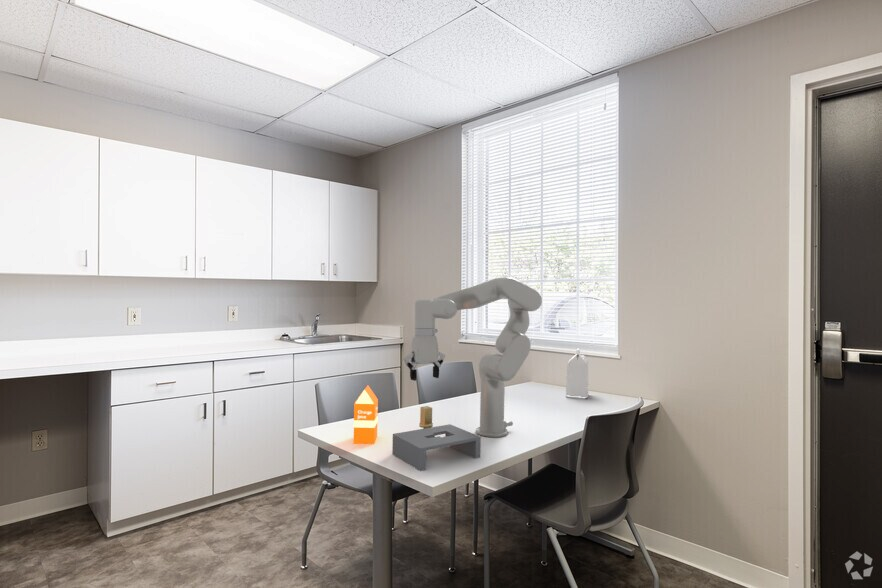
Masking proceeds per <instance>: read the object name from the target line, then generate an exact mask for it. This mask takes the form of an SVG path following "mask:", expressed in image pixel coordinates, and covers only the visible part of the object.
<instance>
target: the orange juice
mask: <svg viewBox="0 0 882 588" xmlns="http://www.w3.org/2000/svg"><path fill="white" fill-rule="evenodd" d="M353 406H354V407H353V445H354V444H356V445H375V443H376V441H377V439H376V438H378V422H379V421H378V420H379V419H378V418H379V417H378V416H379V415H378V411H379V399H378V398H377V396H376V394H375V393H374V391H373V390H372V389H371V387H370V386H369V385H367V386H366V387H365V388H364V390H363V391H362V392H361V393H360V395H359V396H358V398H357V399H356V400H355V402H354V403H353Z"/></svg>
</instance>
